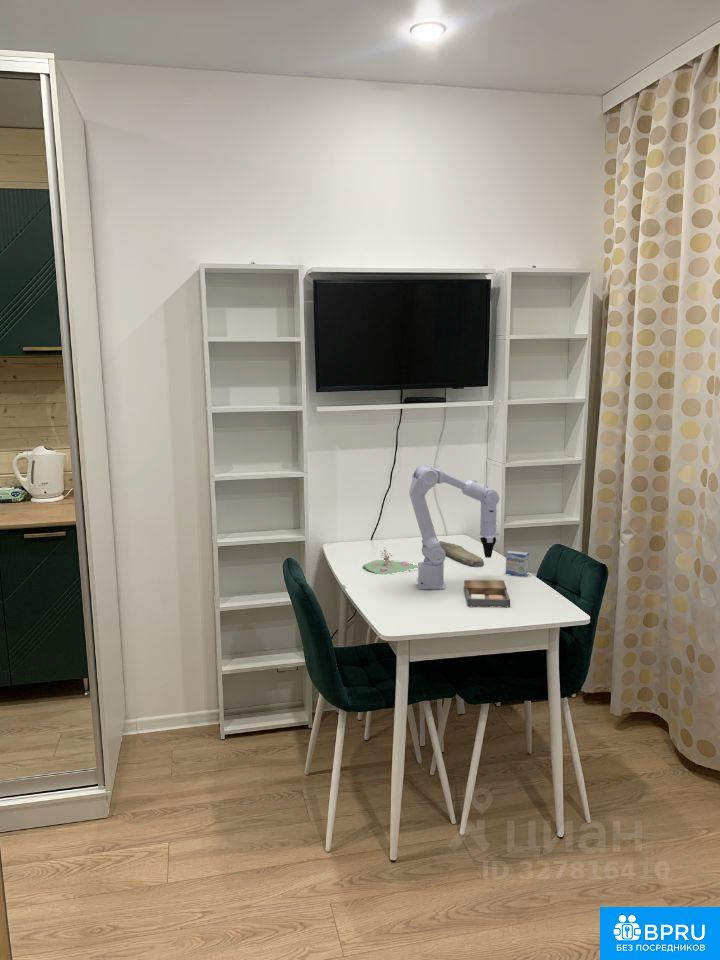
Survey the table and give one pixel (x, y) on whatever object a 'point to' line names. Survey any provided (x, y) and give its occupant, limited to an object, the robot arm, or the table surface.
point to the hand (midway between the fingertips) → (487, 557)
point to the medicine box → (517, 563)
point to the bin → (488, 601)
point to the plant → (388, 566)
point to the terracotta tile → (495, 597)
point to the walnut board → (485, 587)
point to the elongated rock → (461, 554)
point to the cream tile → (477, 596)
